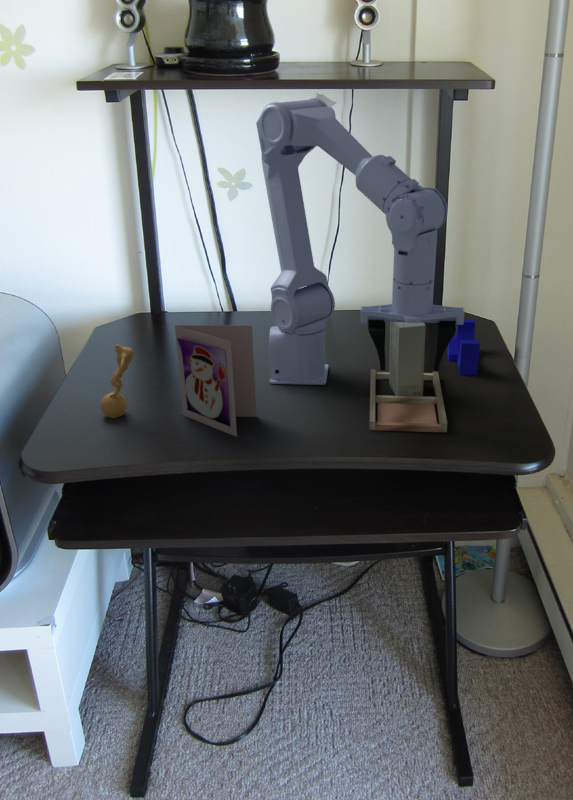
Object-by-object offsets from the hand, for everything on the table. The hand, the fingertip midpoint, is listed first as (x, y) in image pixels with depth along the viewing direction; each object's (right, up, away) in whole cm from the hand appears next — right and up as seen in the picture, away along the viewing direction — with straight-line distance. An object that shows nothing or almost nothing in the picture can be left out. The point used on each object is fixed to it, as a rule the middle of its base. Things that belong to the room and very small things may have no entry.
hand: (409, 368), depth 109 cm
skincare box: (+1, -3, +12) cm, 12 cm away
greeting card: (-28, -8, +4) cm, 29 cm away
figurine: (-44, -7, +6) cm, 45 cm away
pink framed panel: (+1, -5, +8) cm, 9 cm away
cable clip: (+13, +2, +22) cm, 26 cm away
